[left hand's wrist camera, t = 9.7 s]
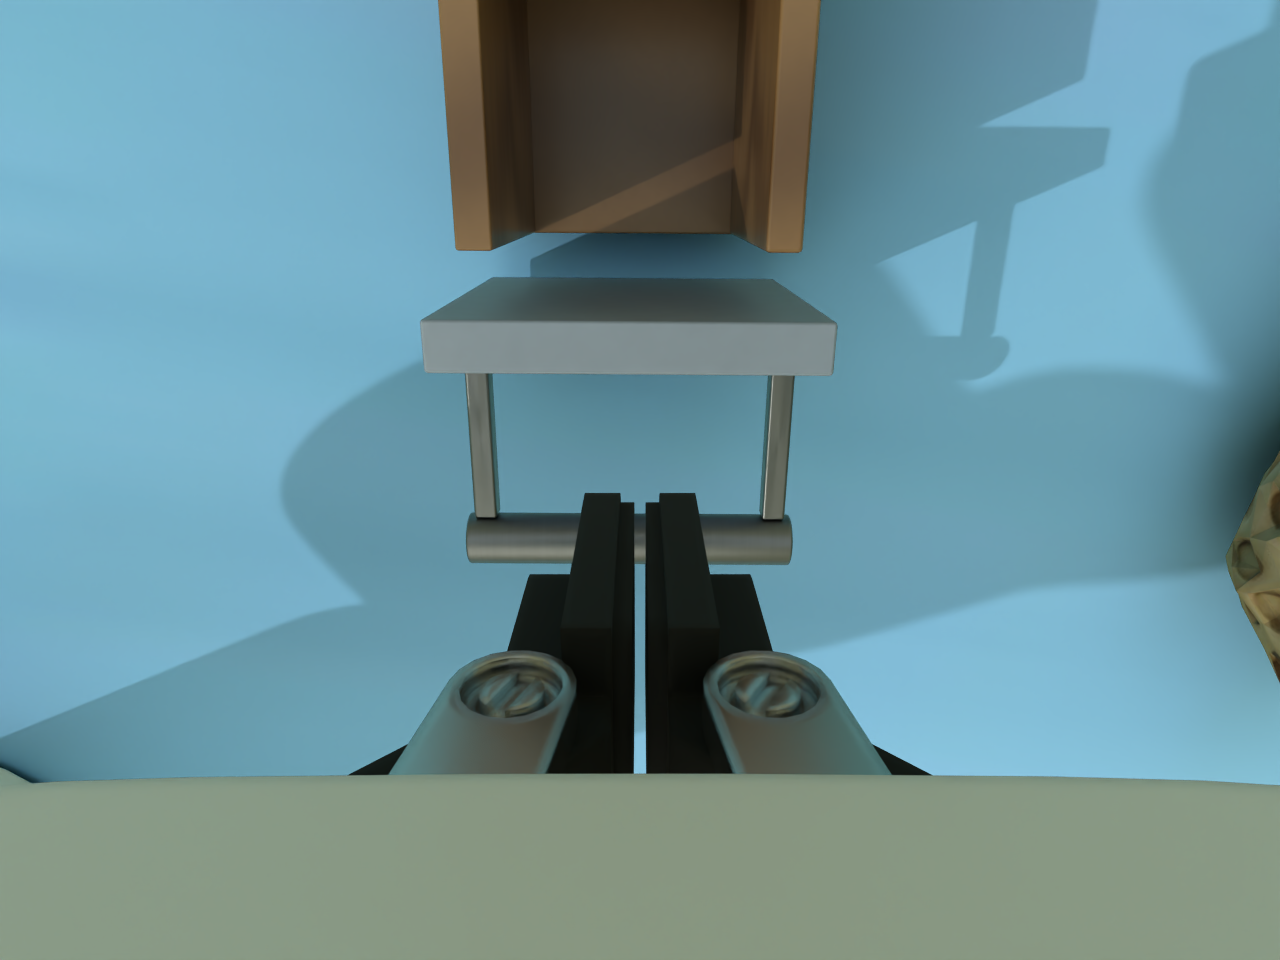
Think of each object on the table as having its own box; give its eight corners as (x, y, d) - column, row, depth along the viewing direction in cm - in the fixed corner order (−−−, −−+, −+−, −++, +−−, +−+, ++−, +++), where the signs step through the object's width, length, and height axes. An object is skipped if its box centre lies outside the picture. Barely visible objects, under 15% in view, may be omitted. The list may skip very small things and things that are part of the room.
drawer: (761, 481, 28) (812, 605, 20) (502, 479, 28) (443, 602, 20) (817, -410, 20) (946, -843, 12) (452, -412, 20) (315, -849, 12)
